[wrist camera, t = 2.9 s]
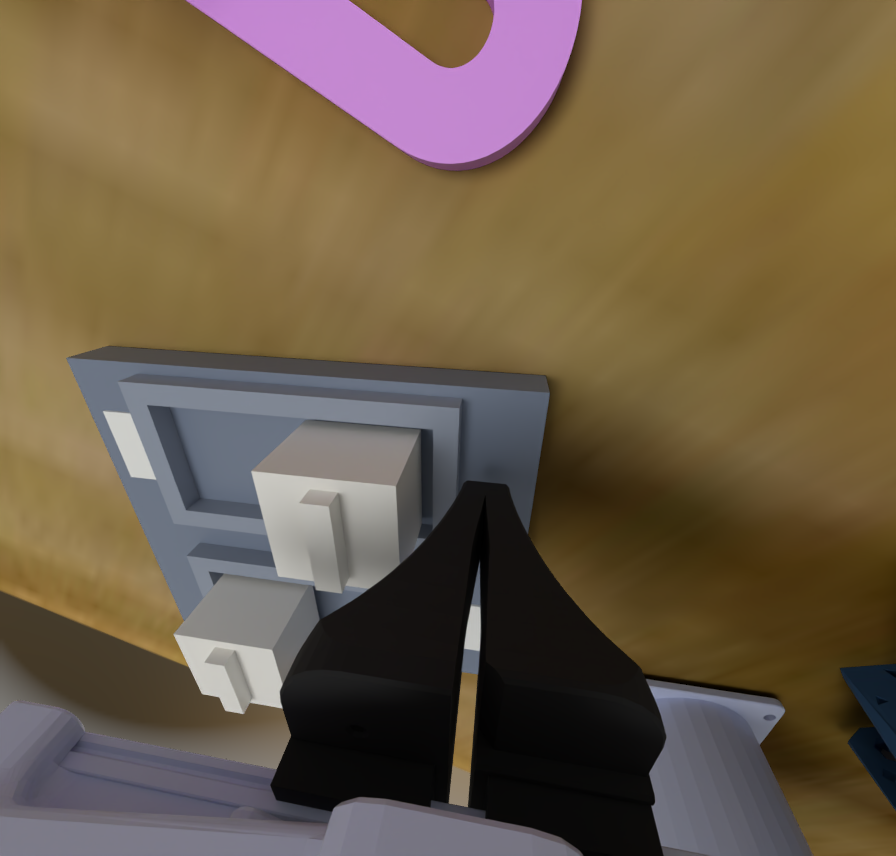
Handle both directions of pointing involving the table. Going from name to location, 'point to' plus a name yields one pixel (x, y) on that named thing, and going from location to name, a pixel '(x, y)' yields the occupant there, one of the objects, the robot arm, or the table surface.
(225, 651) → the far tab
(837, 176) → the table surface
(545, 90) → the bracket
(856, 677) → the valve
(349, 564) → the near tab
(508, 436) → the switch bank
